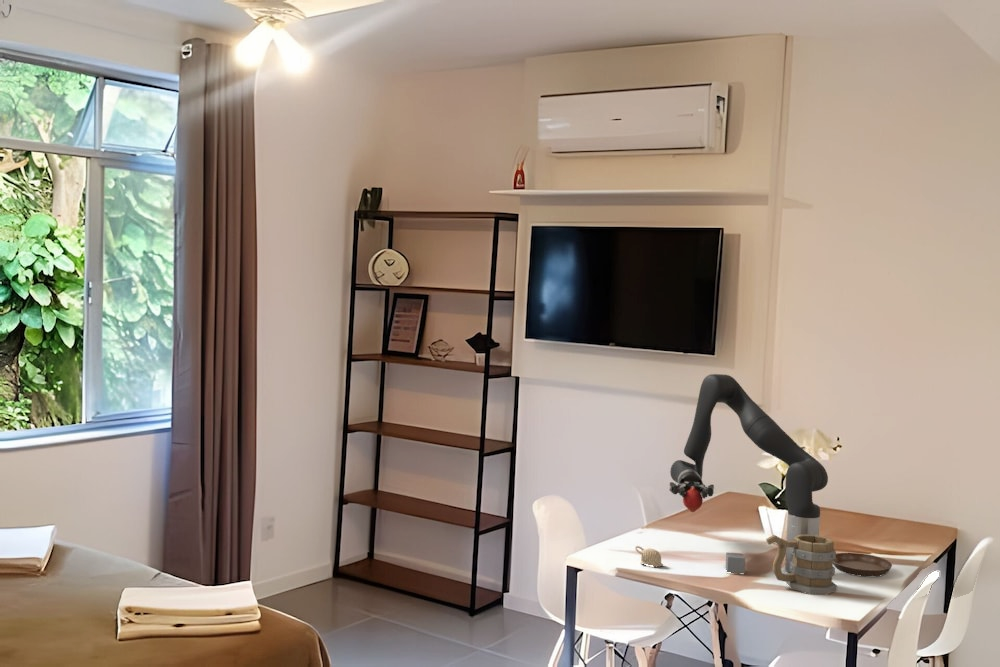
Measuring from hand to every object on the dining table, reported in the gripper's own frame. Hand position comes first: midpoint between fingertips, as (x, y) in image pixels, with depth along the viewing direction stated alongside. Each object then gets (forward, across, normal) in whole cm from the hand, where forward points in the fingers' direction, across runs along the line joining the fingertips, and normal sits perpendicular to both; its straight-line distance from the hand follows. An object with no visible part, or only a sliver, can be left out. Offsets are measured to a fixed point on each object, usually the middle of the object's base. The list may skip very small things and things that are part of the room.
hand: (694, 494), depth 296 cm
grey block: (+4, +13, +22) cm, 25 cm away
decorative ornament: (+3, -13, +22) cm, 25 cm away
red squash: (-3, 0, +6) cm, 7 cm away
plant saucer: (-7, +51, +22) cm, 56 cm away
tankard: (+16, +29, +22) cm, 39 cm away
